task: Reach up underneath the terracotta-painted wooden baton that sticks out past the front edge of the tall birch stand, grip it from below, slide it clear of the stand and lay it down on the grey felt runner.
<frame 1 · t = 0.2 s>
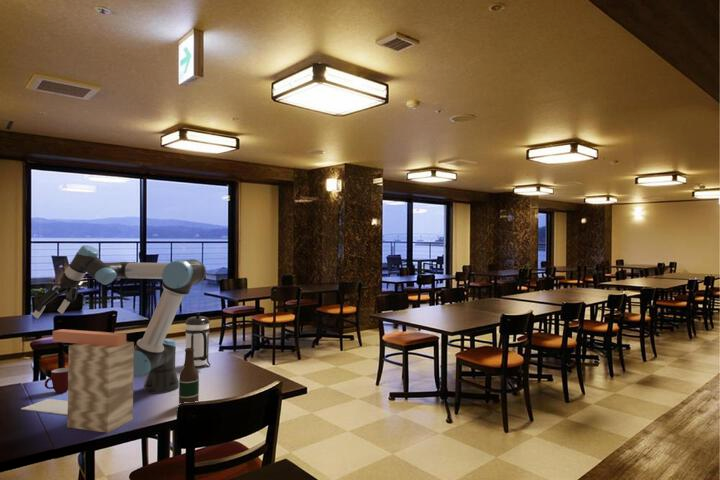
hand: (48, 314, 201), 35 cm above the table, tool tilted 35°, fingers open, 13 cm apart
beer bottle: (188, 405, 186), on the table
runner: (63, 407, 182), on the table
stand: (100, 423, 167), on the table
mug: (58, 393, 200), on the table
baton: (89, 342, 168), point 30 cm above the table, touching stand
coffee press: (198, 367, 245), on the table
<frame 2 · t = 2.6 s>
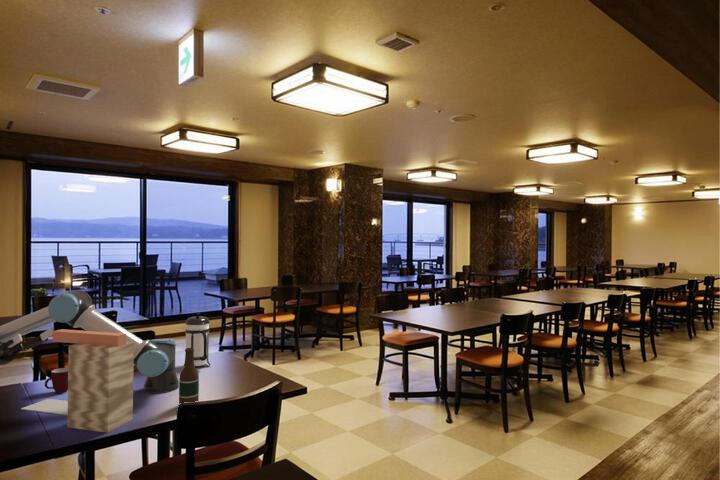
hand: (37, 333, 175), 32 cm above the table, tool pointing upward, fingers open, 13 cm apart
nothing on the table moved.
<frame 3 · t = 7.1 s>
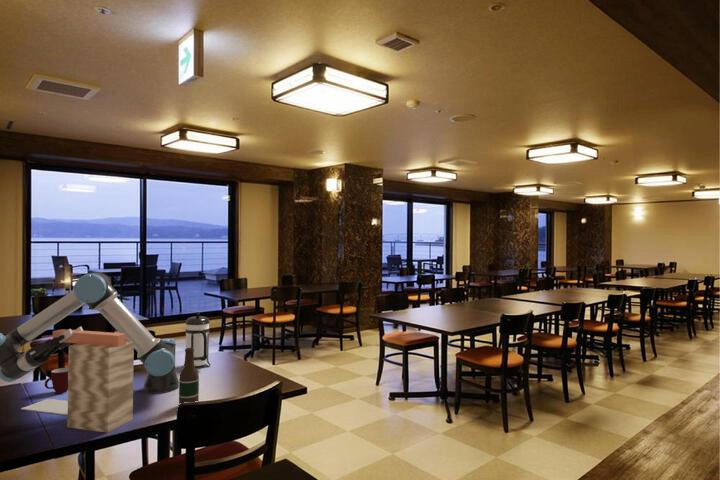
hand: (76, 331, 170), 34 cm above the table, tool pointing upward, fingers closed on baton, 4 cm apart
baton: (89, 342, 168), point 30 cm above the table, touching gripper, stand
everything else where it was.
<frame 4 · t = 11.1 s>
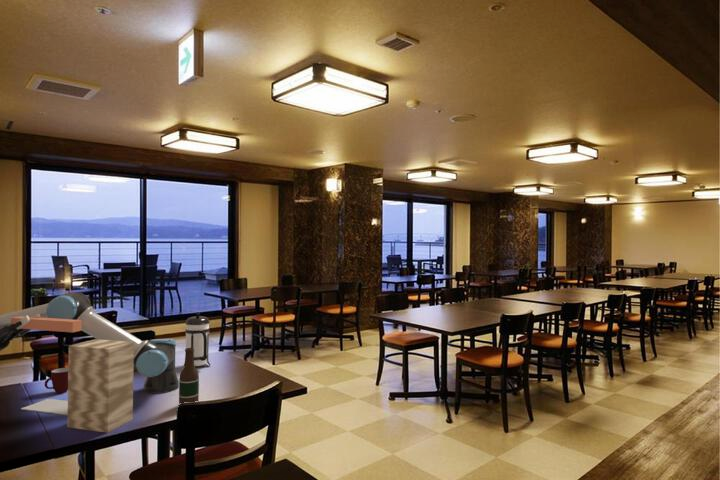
hand: (34, 317, 175), 38 cm above the table, tool pointing upward, fingers closed on baton, 4 cm apart
baton: (45, 329, 173), point 34 cm above the table, touching gripper
everything else where it was.
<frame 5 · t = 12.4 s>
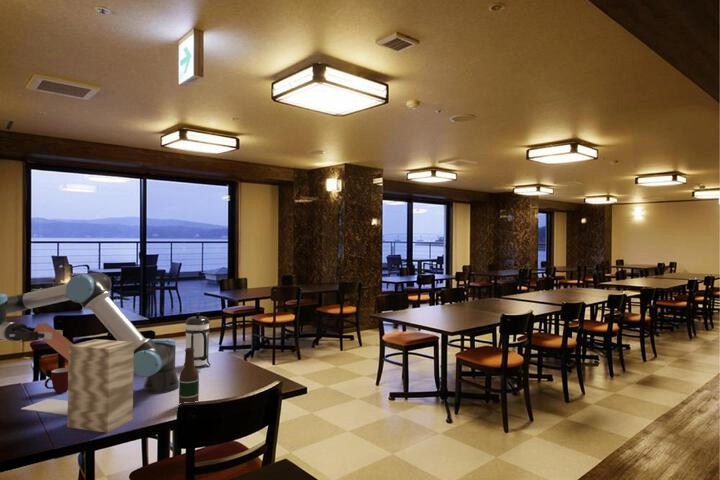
hand: (56, 334, 184), 30 cm above the table, tool horizontal, fingers closed on baton, 4 cm apart
baton: (62, 351, 183), point 23 cm above the table, tilted 30°, touching gripper
everything else where it was.
when the fingers open (16 cm above the table, at t = 15.1 s): baton drops 9 cm, resting on runner.
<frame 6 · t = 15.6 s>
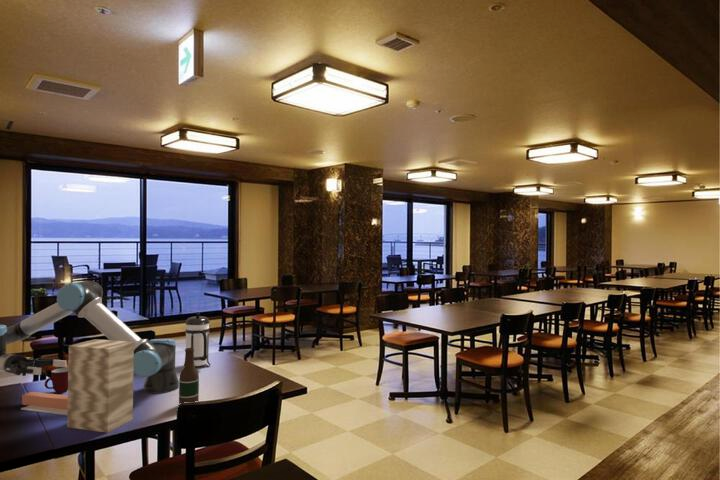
hand: (53, 367, 184), 16 cm above the table, tool horizontal, fingers open, 11 cm apart
baton: (55, 406, 183), resting on runner
everything else where it was.
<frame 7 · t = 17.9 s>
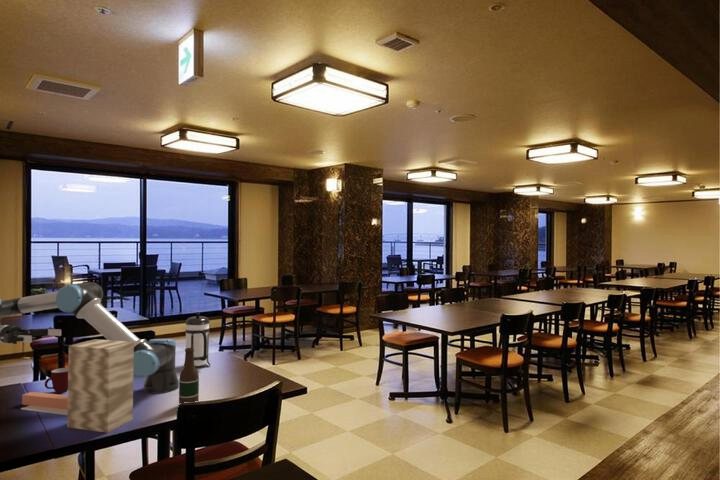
hand: (46, 335, 188), 28 cm above the table, tool horizontal, fingers open, 13 cm apart
nothing on the table moved.
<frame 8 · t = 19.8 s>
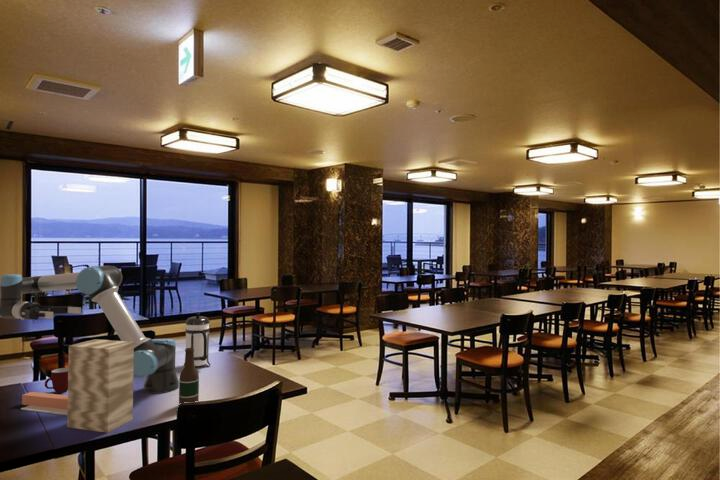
hand: (66, 312, 190), 38 cm above the table, tool horizontal, fingers open, 13 cm apart
nothing on the table moved.
at the end: baton resting on runner; baton touching runner; baton 4.0 cm from the runner (horizontally) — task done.
